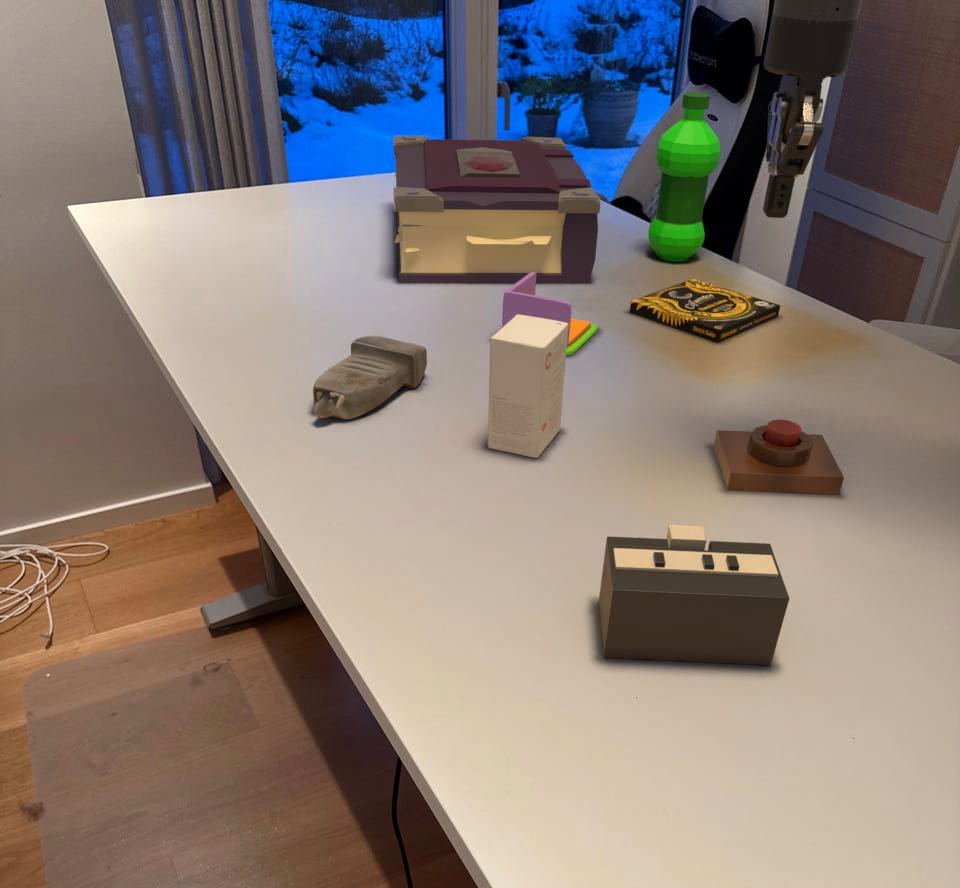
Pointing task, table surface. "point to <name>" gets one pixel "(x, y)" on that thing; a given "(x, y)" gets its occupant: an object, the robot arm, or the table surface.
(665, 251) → the plastic bottle
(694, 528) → the white key
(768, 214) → the robot arm
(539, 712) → the table surface
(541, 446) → the small box
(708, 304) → the guitar strings
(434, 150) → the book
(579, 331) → the toy room diorama
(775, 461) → the brown base plate
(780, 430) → the bell button
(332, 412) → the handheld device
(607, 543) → the toy piano
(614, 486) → the table surface
